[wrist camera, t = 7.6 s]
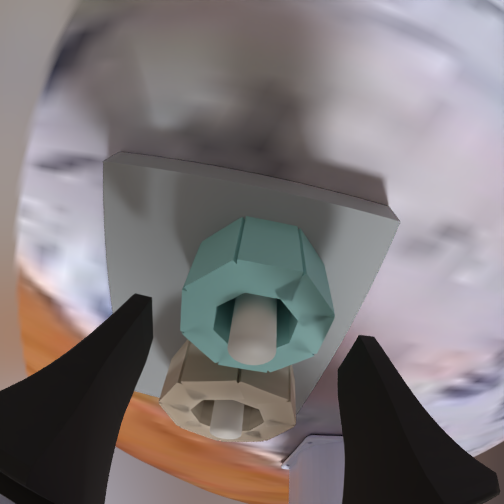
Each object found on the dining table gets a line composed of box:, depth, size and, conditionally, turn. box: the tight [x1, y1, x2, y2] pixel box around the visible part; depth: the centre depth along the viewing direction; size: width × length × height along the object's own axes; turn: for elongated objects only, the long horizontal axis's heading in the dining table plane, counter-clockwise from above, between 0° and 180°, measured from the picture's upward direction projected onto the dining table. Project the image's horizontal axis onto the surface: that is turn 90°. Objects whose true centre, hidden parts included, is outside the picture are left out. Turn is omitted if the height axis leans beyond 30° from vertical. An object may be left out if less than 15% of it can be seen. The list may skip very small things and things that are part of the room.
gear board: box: [103, 152, 400, 439], centre depth 14 cm, size 16×12×6 cm
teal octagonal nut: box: [180, 216, 335, 373], centre depth 12 cm, size 5×5×3 cm
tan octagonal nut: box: [159, 340, 296, 442], centre depth 16 cm, size 7×7×3 cm
